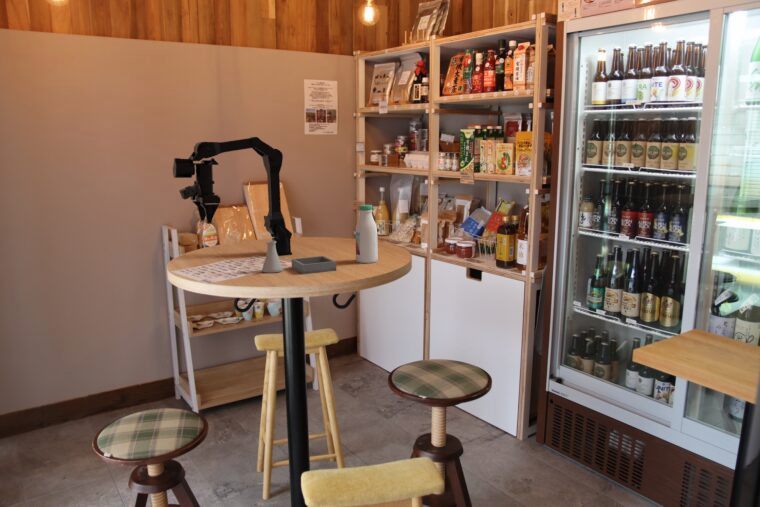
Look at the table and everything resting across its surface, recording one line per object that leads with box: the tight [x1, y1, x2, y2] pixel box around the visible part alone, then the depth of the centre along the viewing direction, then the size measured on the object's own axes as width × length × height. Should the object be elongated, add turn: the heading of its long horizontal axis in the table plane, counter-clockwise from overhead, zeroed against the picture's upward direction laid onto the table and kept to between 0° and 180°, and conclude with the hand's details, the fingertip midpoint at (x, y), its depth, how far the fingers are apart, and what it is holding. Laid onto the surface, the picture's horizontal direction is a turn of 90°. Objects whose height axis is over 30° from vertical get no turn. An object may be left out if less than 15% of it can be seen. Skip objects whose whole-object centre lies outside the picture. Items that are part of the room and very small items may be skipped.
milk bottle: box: [355, 204, 379, 264], centre depth 215 cm, size 8×8×20 cm
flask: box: [261, 240, 284, 274], centre depth 202 cm, size 7×7×10 cm
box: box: [290, 255, 337, 275], centre depth 204 cm, size 12×12×3 cm
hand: (205, 222), depth 217 cm, fingers open, 9 cm apart
